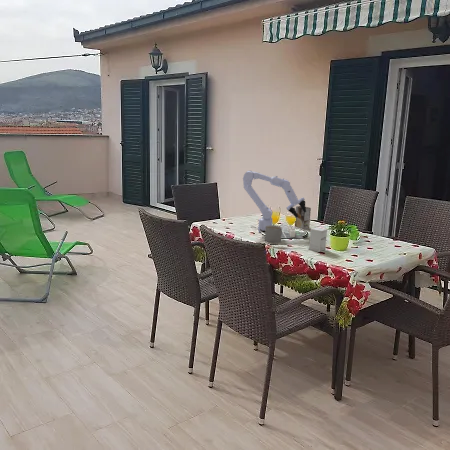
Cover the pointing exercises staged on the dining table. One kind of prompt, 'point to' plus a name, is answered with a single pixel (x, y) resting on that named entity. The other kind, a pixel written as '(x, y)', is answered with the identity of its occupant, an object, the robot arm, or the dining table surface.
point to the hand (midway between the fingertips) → (301, 214)
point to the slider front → (292, 233)
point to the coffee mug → (273, 234)
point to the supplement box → (317, 239)
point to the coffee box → (302, 218)
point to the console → (297, 235)
